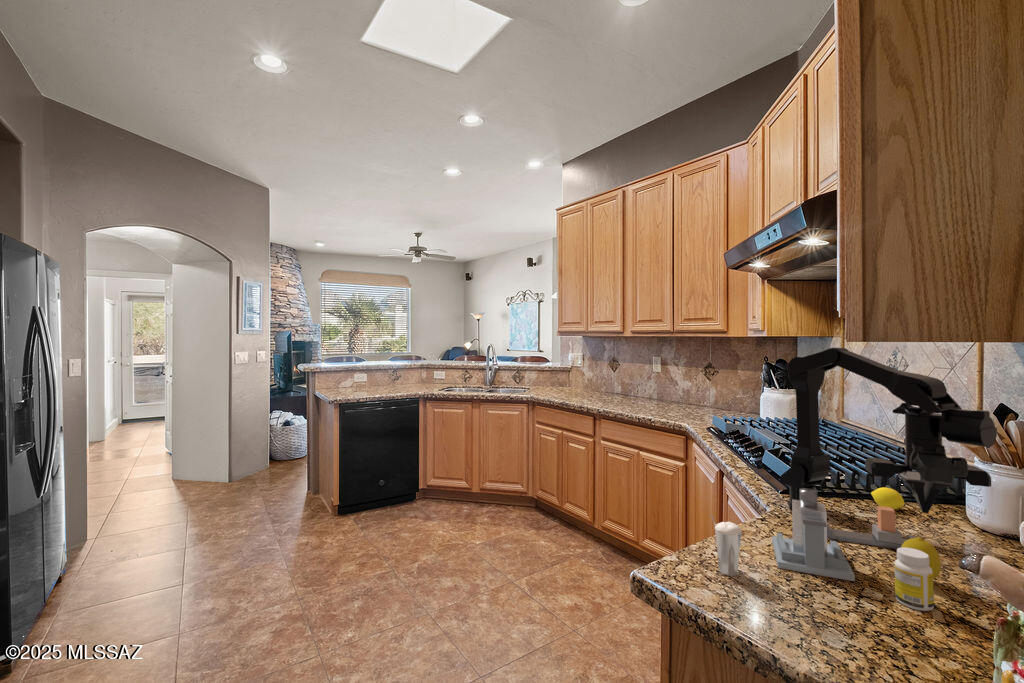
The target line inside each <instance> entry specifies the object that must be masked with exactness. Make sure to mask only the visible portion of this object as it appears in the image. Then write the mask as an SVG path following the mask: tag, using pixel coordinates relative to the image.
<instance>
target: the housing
mask: <svg viewBox="0 0 1024 683" xmlns="http://www.w3.org/2000/svg"><path fill="white" fill-rule="evenodd" d="M799 491H800V500H793V499H792V510H791V512H792V539H793V552H798V553H804V530H803V522H802V520H801V515H806V516H813V517H821V518H824V520H825V521H826V527H824V549H825V557H827V544H828V539H827V524H828V520H827V517H828V516H827V513H828V512H827V508H826V506H825V503H822V502H818V491H817V490H816V489H815V490H813V489H808V488H801V489H799Z"/></svg>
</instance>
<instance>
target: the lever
mask: <svg viewBox="0 0 1024 683" xmlns="http://www.w3.org/2000/svg"><path fill="white" fill-rule="evenodd" d="M876 507H877V524H874V523H871V534H873V535H874V536H875V538H876V539H877V540H878V541H882V542H889V543H896V544H902V539H903V534H902V533H901V532H900V531H899V530H898V529H897V527H896V511H895V510H893V509H892V508H890V507H882V506H880V505H877V506H876Z"/></svg>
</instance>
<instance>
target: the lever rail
mask: <svg viewBox="0 0 1024 683" xmlns="http://www.w3.org/2000/svg"><path fill="white" fill-rule="evenodd" d="M912 538H916V536H914V535H913V534H907V537H906V538H902V544H903V543H904V542H905V541H906V540H908V539H912ZM827 540H830V541H839V542H846V543H852V544H860V545H868V546H873V547H881V548H887V549H888V548H889V549H893V550H897V549H898V548H900V547H901V546H902V544H896V543H889V542H882V541H878V540H877V539H876V538H875V536H874V535H873V534H872V533H865V532H857V531H850V530H842V529H837V528H836V529H835V528H831V526H830V524H829V523H827Z"/></svg>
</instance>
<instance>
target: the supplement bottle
mask: <svg viewBox="0 0 1024 683" xmlns="http://www.w3.org/2000/svg"><path fill="white" fill-rule="evenodd" d="M893 564H894V566H893V568H894V591H895V592H894V594H895V600H896V601H897V602H898V603H899V604H902V605H903V606H905V607H907V608H910V609H912V610H916V611H921V612H929V611H933V610H934V608H935V605H934V603H935V601H934V600H935V598H934V597H935V596H934V579H933V571H932V569H931V568H930V567H929V556H928V554H926V553H924V552H922V551H920V550H917V549H913V548H906V547H900V548H898V549H896V560H894V563H893Z"/></svg>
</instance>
